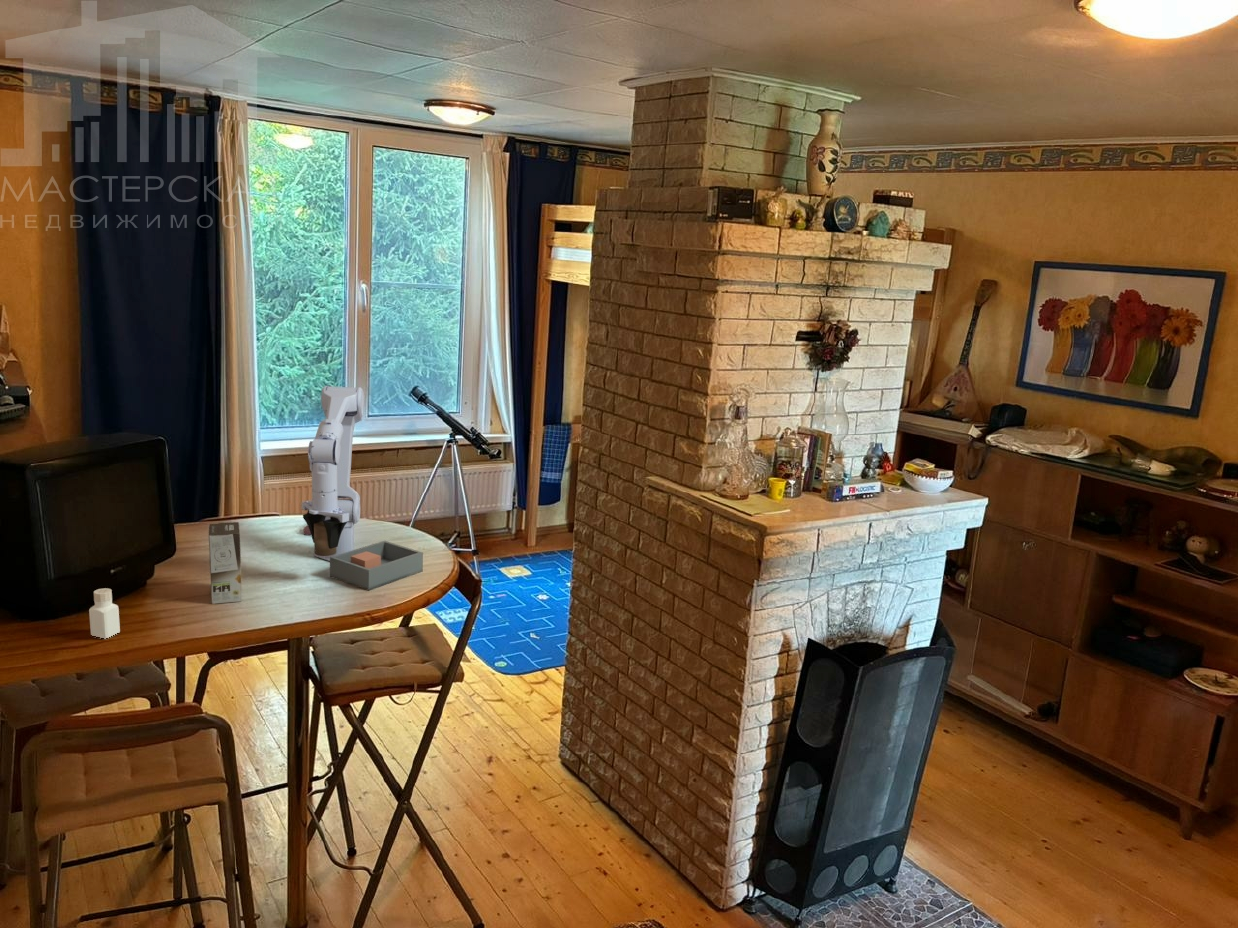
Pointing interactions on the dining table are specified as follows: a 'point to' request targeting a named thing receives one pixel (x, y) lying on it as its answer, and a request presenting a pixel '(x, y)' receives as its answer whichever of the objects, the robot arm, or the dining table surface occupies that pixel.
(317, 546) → the cylinder
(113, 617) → the white pill bottle
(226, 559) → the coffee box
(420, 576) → the dining table surface
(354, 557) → the cube
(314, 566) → the dining table surface
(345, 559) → the tote
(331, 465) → the robot arm
